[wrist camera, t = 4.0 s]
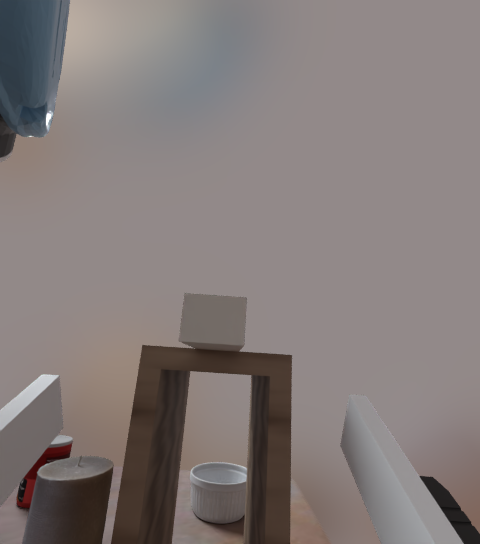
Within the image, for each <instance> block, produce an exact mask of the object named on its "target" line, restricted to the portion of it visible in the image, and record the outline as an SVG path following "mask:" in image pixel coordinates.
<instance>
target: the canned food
mask: <svg viewBox="0 0 480 544" xmlns="http://www.w3.org/2000/svg"><path fill="white" fill-rule="evenodd" d="M72 442H73V438H72V437H69V436H64V435H57V436H56V438H55V439H54V440H53V441H52V443H51V444H50V445H49V446H48V448H47V449H46V450H45V451H44V453H43V454H42V455H41V456H40V458H39V459H38V460H37V462H36V463H35V464H34V465H33V467H32V468H31V469H30V470H29V472H28V473H27V474H26V475H25V477H24V478H23V479H22V480H21V482H20V486H19V490H18V494H17V505H18V506H20V507H23V508H30V506H31V501H32V497H33V492H34V487H35V483H36V478H37V472H38V471H39V469H40V467H42V466H44V465H45V464H49V463H51V462H54V461H57V460H61V459H66V458H69V457H70V452H71V447H72Z"/></svg>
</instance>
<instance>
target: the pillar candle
mask: <svg viewBox="0 0 480 544" xmlns="http://www.w3.org/2000/svg"><path fill="white" fill-rule="evenodd" d="M113 466H114V465H113V462H112V461H111V460H109V459H106V458H102V457H95V456H83V457H82V456H81V457H71V458H66V459H61V460H57V461H54V462H51V463H49V464H45V465H44V466H42V467H40V469H39V471H38V472H37V478H36V483H35V487H34V492H33V497H32V501H31V506H30V510H29V515H28V519H27V524H26V528H25V533H24V537H23V542H22V544H102V538H103V533H104V527H105V521H106V514H107V508H108V501H109V495H110V488H111V482H112V474H113Z"/></svg>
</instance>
